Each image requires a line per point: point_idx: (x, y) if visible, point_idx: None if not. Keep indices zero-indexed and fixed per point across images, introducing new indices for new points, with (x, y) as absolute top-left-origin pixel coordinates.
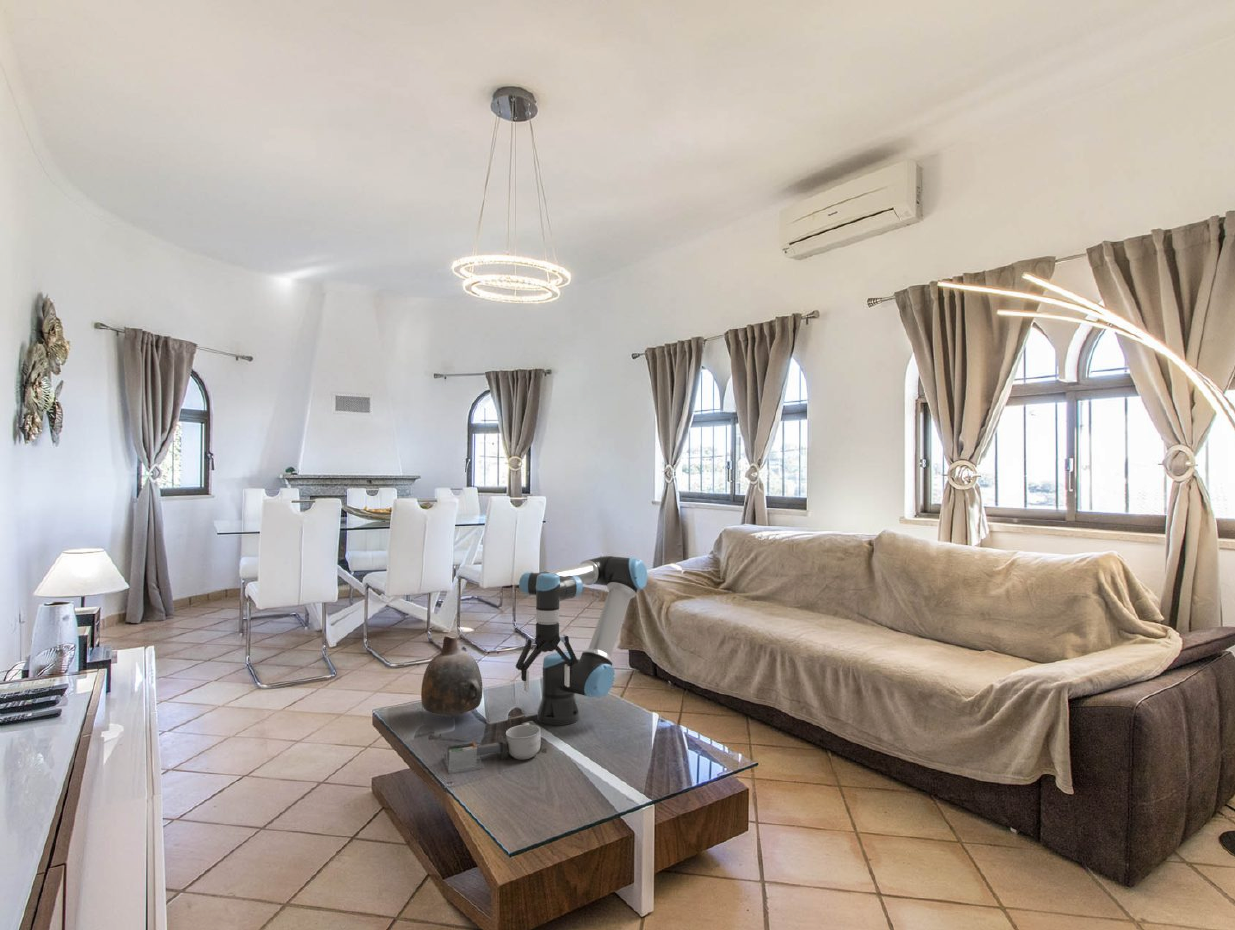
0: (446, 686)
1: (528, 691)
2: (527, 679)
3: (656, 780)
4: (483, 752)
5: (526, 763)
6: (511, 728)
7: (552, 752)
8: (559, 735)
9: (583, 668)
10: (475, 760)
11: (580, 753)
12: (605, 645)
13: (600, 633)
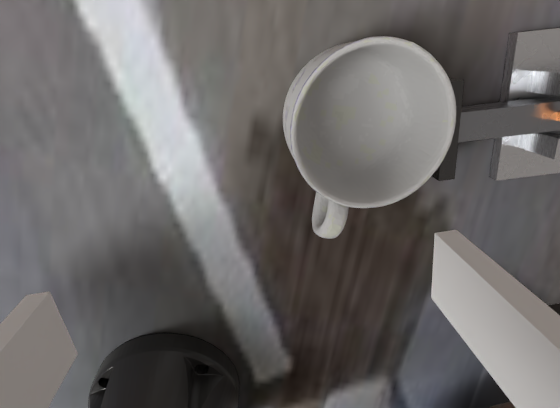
0: None
1: (440, 233)
2: (534, 306)
3: None
4: (510, 103)
5: (347, 32)
6: (412, 187)
7: (229, 112)
8: (182, 257)
9: None
10: (538, 70)
11: (114, 71)
12: None
13: None
